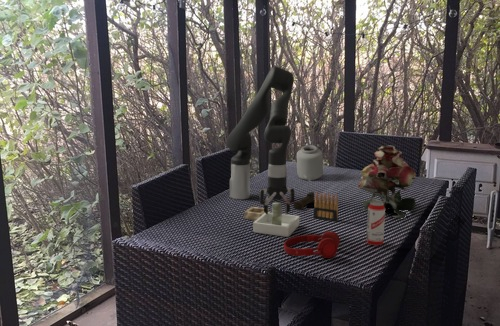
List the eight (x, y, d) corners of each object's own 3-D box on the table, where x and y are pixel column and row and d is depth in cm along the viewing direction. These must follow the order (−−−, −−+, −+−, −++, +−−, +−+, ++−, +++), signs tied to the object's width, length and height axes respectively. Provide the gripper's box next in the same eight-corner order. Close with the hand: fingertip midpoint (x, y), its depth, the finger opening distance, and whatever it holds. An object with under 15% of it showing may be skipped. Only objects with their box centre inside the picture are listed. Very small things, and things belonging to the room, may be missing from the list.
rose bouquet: (416, 203, 240) (421, 142, 233) (410, 221, 213) (414, 153, 207) (363, 197, 250) (366, 138, 243) (350, 214, 223) (353, 148, 217)
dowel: (272, 229, 203) (273, 205, 200) (271, 225, 206) (271, 202, 204) (282, 228, 203) (282, 205, 201) (280, 225, 207) (280, 202, 205)
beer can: (364, 241, 191) (366, 201, 188) (379, 240, 192) (382, 200, 188) (369, 247, 185) (371, 206, 182) (385, 246, 186) (388, 205, 182)
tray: (253, 232, 201) (253, 222, 200) (265, 220, 214) (265, 211, 213) (288, 237, 195) (288, 227, 194) (299, 225, 209) (299, 216, 208)
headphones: (341, 245, 186) (289, 247, 192) (339, 227, 184) (287, 230, 190) (337, 261, 172) (281, 262, 178) (335, 242, 170) (278, 243, 176)
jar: (316, 183, 275) (317, 139, 270) (291, 181, 281) (292, 137, 275) (325, 176, 292) (327, 134, 287) (301, 174, 298) (302, 132, 292)
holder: (244, 218, 217) (244, 212, 217) (251, 212, 225) (251, 206, 224) (262, 221, 214) (262, 214, 213) (269, 215, 222) (269, 208, 221)
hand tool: (301, 211, 229) (301, 201, 228) (293, 209, 231) (293, 199, 230) (318, 201, 244) (319, 192, 243) (311, 199, 246) (311, 190, 245)
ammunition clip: (338, 220, 215) (339, 194, 212) (336, 221, 213) (337, 195, 210) (314, 217, 219) (315, 190, 217) (313, 218, 218) (314, 191, 215)
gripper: (261, 177, 195) (261, 216, 199) (296, 176, 197) (295, 215, 201) (258, 173, 203) (258, 211, 206) (292, 171, 204) (291, 209, 208)
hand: (276, 213), depth 203 cm, fingers open, 8 cm apart
